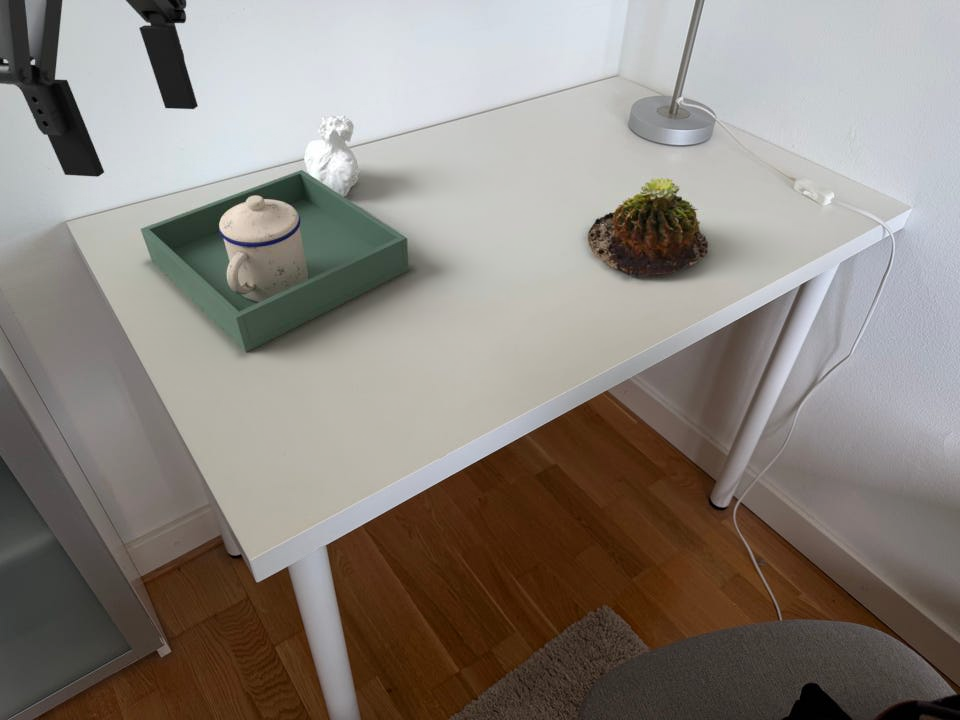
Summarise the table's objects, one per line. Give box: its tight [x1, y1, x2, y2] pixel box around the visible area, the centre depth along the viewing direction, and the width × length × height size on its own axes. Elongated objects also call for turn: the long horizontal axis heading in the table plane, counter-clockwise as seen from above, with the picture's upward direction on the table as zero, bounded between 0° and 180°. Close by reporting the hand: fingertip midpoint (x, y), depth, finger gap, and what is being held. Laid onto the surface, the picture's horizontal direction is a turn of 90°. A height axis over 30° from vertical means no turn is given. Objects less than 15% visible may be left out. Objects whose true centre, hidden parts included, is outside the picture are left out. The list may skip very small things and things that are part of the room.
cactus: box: [587, 177, 709, 277], centre depth 92 cm, size 17×16×10 cm
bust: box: [304, 114, 361, 197], centre depth 102 cm, size 12×8×11 cm
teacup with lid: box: [219, 196, 308, 302], centre depth 80 cm, size 12×9×12 cm
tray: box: [140, 169, 410, 353], centre depth 87 cm, size 24×24×5 cm
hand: (137, 137), depth 55 cm, fingers open, 13 cm apart
